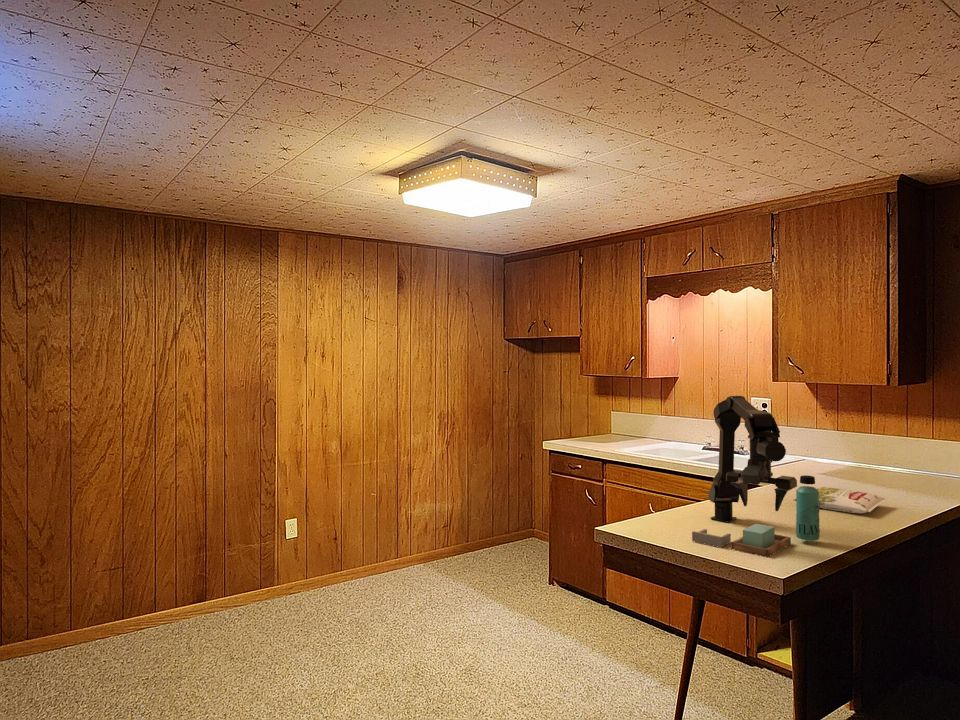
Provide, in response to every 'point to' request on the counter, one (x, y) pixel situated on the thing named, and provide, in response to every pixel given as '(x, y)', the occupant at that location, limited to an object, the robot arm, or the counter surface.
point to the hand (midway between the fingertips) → (760, 508)
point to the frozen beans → (847, 500)
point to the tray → (779, 544)
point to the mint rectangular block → (759, 536)
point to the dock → (710, 538)
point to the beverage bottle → (807, 510)
